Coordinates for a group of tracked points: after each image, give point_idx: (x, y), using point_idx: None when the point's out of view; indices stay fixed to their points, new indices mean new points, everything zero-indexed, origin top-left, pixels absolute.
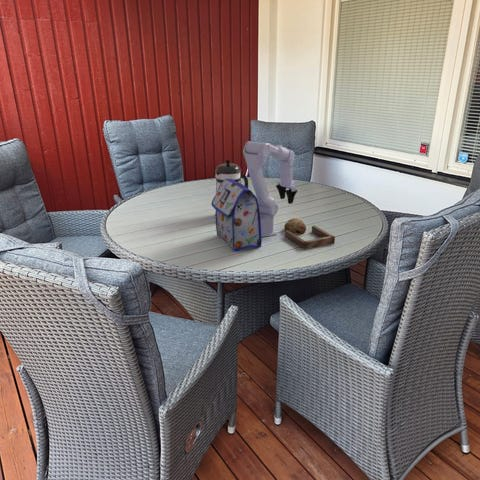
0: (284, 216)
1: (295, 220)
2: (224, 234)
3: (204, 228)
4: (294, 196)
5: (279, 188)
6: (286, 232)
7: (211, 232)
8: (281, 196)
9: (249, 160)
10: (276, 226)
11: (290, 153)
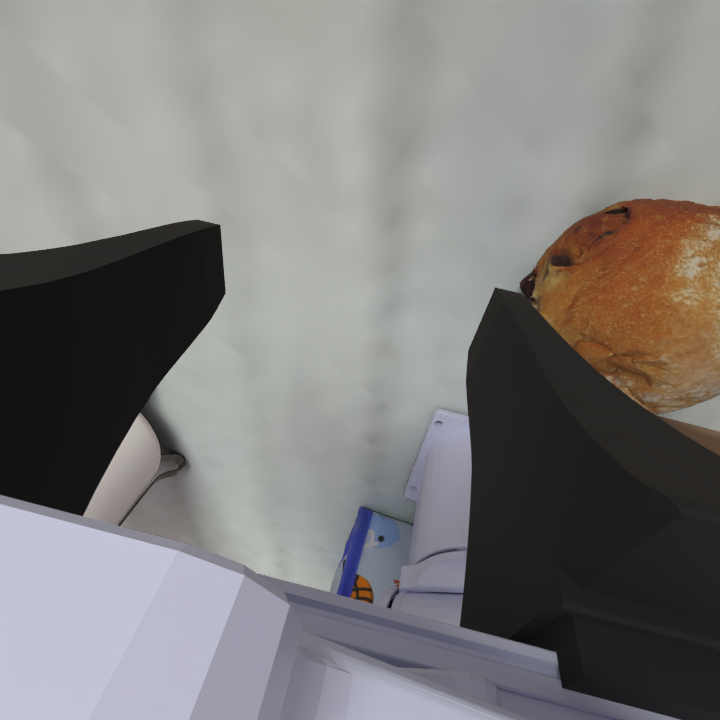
0: (249, 63)
1: (708, 386)
2: None
3: (238, 555)
4: (605, 382)
5: (84, 477)
6: None
7: (294, 567)
8: (199, 314)
9: None
10: (429, 332)
11: None
